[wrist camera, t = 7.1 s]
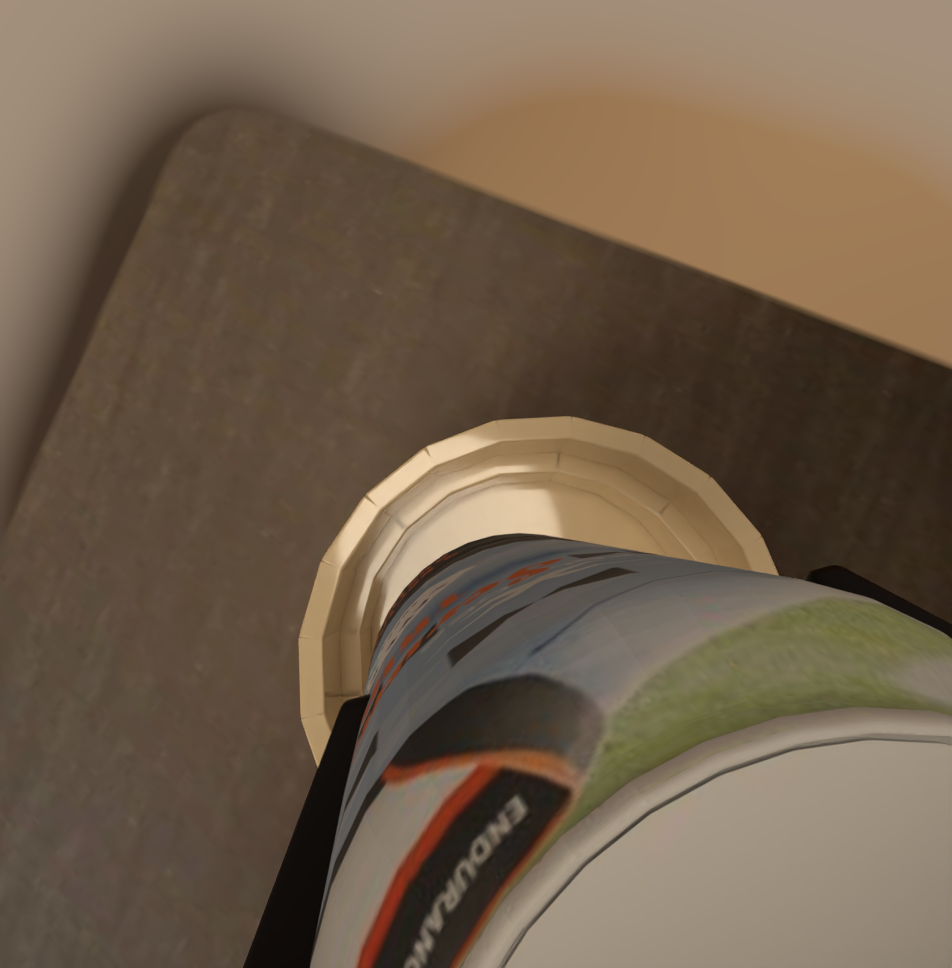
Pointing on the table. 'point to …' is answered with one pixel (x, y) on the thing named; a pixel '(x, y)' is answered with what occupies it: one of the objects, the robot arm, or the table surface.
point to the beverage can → (643, 772)
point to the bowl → (503, 529)
